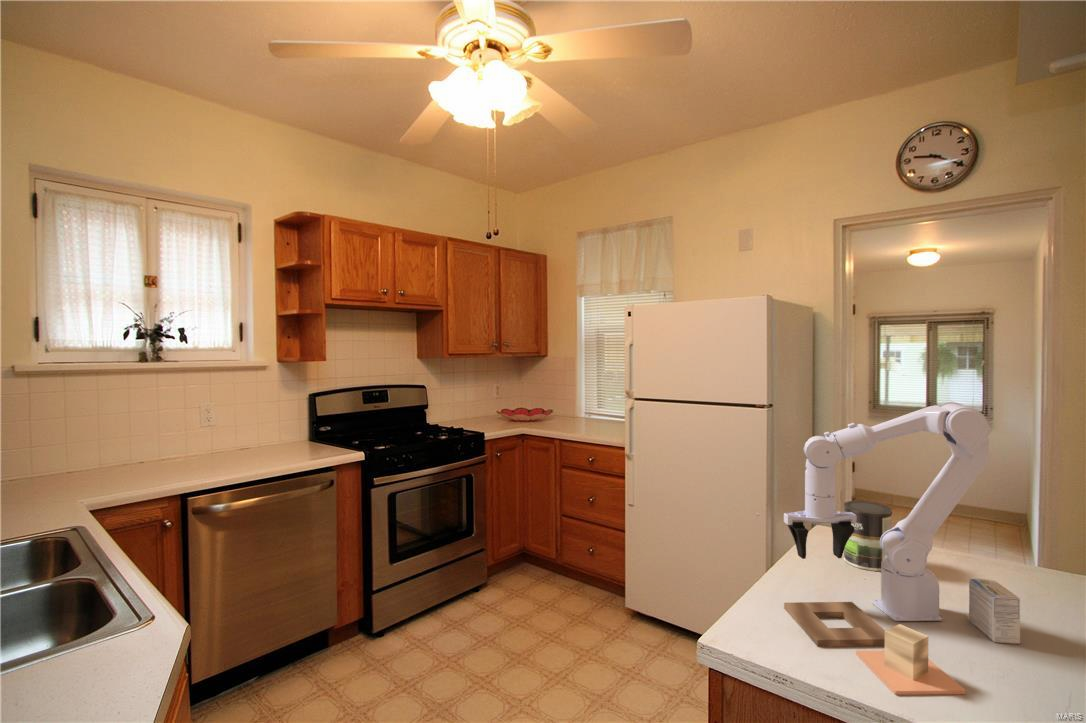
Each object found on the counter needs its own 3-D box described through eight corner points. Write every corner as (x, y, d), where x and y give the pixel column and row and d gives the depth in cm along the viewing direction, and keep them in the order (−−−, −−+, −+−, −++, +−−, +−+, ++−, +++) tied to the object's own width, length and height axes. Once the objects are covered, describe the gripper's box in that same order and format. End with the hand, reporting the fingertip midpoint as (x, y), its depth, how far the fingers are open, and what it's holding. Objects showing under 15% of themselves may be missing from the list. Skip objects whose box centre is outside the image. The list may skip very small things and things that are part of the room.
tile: (918, 653, 96) (918, 650, 96) (965, 694, 85) (965, 690, 85) (855, 654, 96) (855, 650, 96) (895, 694, 85) (895, 691, 85)
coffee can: (862, 573, 129) (862, 514, 128) (834, 555, 139) (834, 501, 138) (902, 570, 130) (902, 512, 129) (871, 553, 140) (872, 499, 139)
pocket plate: (851, 607, 112) (851, 601, 112) (894, 645, 98) (894, 639, 98) (784, 608, 113) (784, 602, 113) (817, 646, 99) (817, 640, 99)
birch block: (899, 657, 94) (899, 624, 93) (928, 671, 90) (928, 636, 89) (884, 665, 92) (884, 631, 91) (913, 680, 88) (913, 644, 87)
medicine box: (1020, 645, 98) (1021, 598, 98) (992, 643, 99) (993, 596, 98) (994, 622, 106) (994, 579, 105) (968, 620, 106) (968, 577, 106)
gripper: (843, 487, 119) (843, 548, 119) (777, 488, 119) (777, 549, 119) (862, 497, 112) (862, 561, 112) (792, 498, 112) (792, 563, 112)
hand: (819, 556), depth 115 cm, fingers open, 7 cm apart
